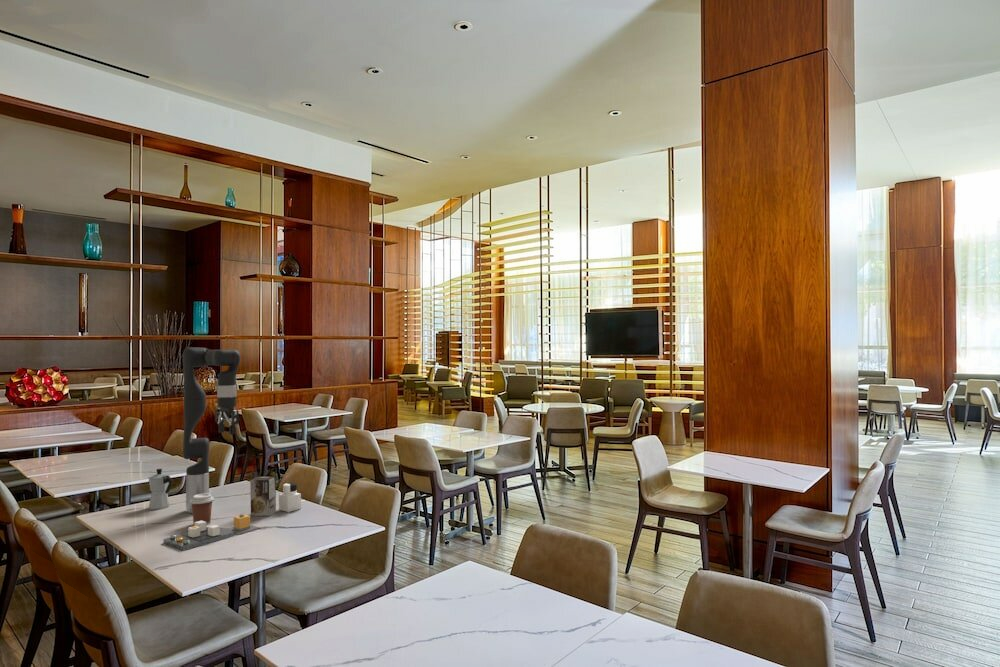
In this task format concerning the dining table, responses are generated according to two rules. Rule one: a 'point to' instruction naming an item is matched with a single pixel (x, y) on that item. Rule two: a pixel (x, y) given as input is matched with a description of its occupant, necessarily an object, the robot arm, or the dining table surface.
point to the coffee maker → (159, 490)
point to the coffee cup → (202, 507)
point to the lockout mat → (243, 530)
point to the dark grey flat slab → (196, 539)
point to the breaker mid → (194, 531)
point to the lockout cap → (241, 522)
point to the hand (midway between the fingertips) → (226, 433)
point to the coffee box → (263, 496)
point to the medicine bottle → (289, 498)
